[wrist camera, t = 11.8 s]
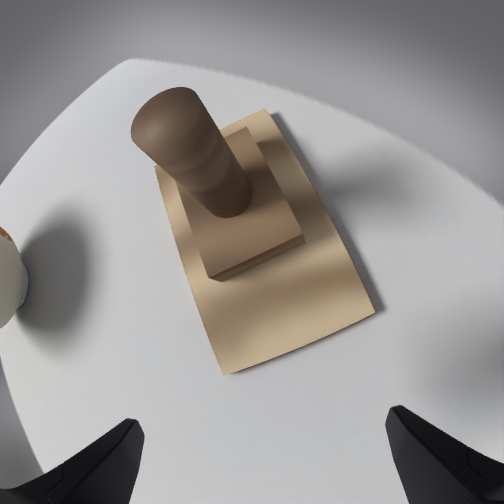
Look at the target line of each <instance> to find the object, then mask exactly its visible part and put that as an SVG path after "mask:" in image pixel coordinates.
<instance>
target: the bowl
mask: <svg viewBox="0 0 504 504" xmlns="http://www.w3.org/2000/svg"><path fill="white" fill-rule="evenodd" d="M27 291H28V273H27V270H26V267H25V266H24V264H23V263H22V261H21V257H20V254H19V252H18V249H17V247H16V245H15V243H14V241H13V240H12V238H11V237H10V235H9V234H8V233H7V232H6V231H5V230H4V229H2V228H1V227H0V328H2V327H3V326H5V325H6V324H7V323H8V322H9V320H10V319H11V318H12V316H13V315H14V313H15V312H16V310H17V308H19V307H20V306H21V305H22V304H23V303H24V301H25V299H26V296H27Z"/></svg>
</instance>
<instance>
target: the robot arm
mask: <svg viewBox="0 0 504 504" xmlns="http://www.w3.org/2000/svg"><path fill="white" fill-rule="evenodd" d="M385 426H386V431H387V435H388V439H389V443H390V447H391V452H392V456H393V460H394V463H395V466H396V468H397V471H398V474H399V476H400V479H401V482H402V485H403V488H404V490H405V493H406V496H407V499H408V502H409V504H504V464H503V463H501V462H498V461H496V460H494V459H491V458H489V457H487V456H485V455H483V454H481V453H479V452H477V451H475V450H474V449H472V448H470V447H467V445H465V444H463V443H462V442H460V441H458V440H457V439H455V438H453V437H452V436H450V435H448V434H447V433H445V432H443V431H442V430H440V429H438V428H437V427H435V426H434V425H432V424H430V423H429V422H427V421H426V420H424V419H422V418H421V417H419V416H418V415H416V414H415V413H413V412H411V411H410V410H408V409H407V408H405V407H404V406H402V405H398V406H394V407H391V408H390V410H389V413H388V416H387V419H386V423H385ZM143 444H144V432H143V430H142V428H141V426H140V424H139V422H138V421H137V420H136V419H130V418H127V419H125V420H124V421H122V422H121V423H119V424H118V425H117V426H115V427H114V428H113V429H111V430H110V431H108V432H107V433H106V434H104V435H103V436H101V437H100V438H99V439H97V440H96V441H94V442H93V443H91V444H90V445H89V446H87V447H86V448H84V449H83V450H81V451H80V452H78V453H77V454H75V455H74V456H72V457H71V458H69V459H68V460H66V461H65V462H64V463H62V464H60V465H59V466H57V467H56V468H54V469H52V470H51V471H49V472H47V473H45V474H44V475H42V476H40V477H38V478H36V479H34V480H31V481H29V482H27V483H25V484H23V485H20V486H18V487H16V488H11V489H0V504H129V502H130V498H131V495H132V492H133V488H134V485H135V482H136V478H137V475H138V471H139V467H140V461H141V455H142V450H143Z"/></svg>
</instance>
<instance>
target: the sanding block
mask: <svg viewBox="0 0 504 504" xmlns="http://www.w3.org/2000/svg"><path fill="white" fill-rule="evenodd" d="M131 137H132V140H133V142H134V143H135V144H136V145H137V146H138V147H139V148H140V149H141V150H142V151H143V152H145V153H146V154H147V155H148V156H149V157H150V158H151V159H152V160H153V161H155V162H156V163H157V164H158V165H159V166H160V167H161V168H162V169H163V170H164V171H166V172H167V173H168V174H169V175H170V176H171V177H172V178H173V179H174V180H175V182H176V185H177V188H178V191H179V194H180V197H181V201H182V204H183V207H184V210H185V213H186V216H187V219H188V222H189V225H190V228H191V231H192V233H193V236H194V239H195V242H196V245H197V248H198V251H199V254H200V256H201V259H202V262H203V265H204V268H205V270H206V273H207V276H208V278H210V279H213V280H216V281H219V282H223V281H225V280H227V279H229V278H231V277H233V276H236V275H238V274H240V273H242V272H244V271H246V270H249V269H251V268H253V267H255V266H257V265H259V264H261V263H264V262H266V261H268V260H270V259H272V258H274V257H276V256H279V255H281V254H283V253H285V252H287V251H289V250H291V249H293V248H296V247H298V246H300V245H302V244H304V243H306V242H305V239H304V235H303V232H302V230H301V228H300V226H299V224H298V222H297V220H296V218H295V216H294V214H293V212H292V210H291V208H290V206H289V204H288V202H287V200H286V198H285V196H284V194H283V193H282V191H281V189H280V187H279V185H278V183H277V181H276V179H275V177H274V175H273V173H272V172H271V170H270V168H269V166H268V164H267V162H266V160H265V159H264V157H263V155H262V153H261V151H260V149H259V148H258V146H257V144H256V142H255V140H254V138H253V137H252V135H251V133H250V131H249V130H248V128H247V126H246V127H244V128H242V129H240V130H238V131H236V132H234V133H232V134H230V135H228V136H226V137H223V136H222V134H221V132H220V131H219V129H218V127H217V126H216V124H215V122H214V121H213V119H212V118H211V116H210V114H209V113H208V111H207V110H206V108H205V106H204V105H203V103H202V101H201V100H200V98H199V97H198V95H197V94H196V92H195V91H193V90H192V89H189V88H186V87H176V88H171V89H168V90H165V91H163V92H161V93H159V94H157V95H155V96H154V97H152V98H151V99H150V100H149V101H148V102H146V103H145V104H144V105H143V107H142V108H141V109H140V110H139V112H138V113H137V115H136V116H135V118H134V120H133V123H132V127H131Z"/></svg>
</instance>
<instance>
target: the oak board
mask: <svg viewBox="0 0 504 504" xmlns="http://www.w3.org/2000/svg"><path fill="white" fill-rule="evenodd" d="M246 126H247V128H248V130H249V131H250V133H251V135H252V137H253V138H254V140H255V142H256V144H257V146H258V148H259V149H260V151H261V153H262V155H263V157H264V159H265V160H266V162H267V164H268V166H269V168H270V170H271V172H272V173H273V175H274V177H275V179H276V181H277V183H278V185H279V187H280V189H281V191H282V193H283V194H284V196H285V198H286V200H287V202H288V204H289V206H290V208H291V210H292V212H293V214H294V216H295V218H296V220H297V222H298V224H299V226H300V228H301V230H302V232H303V235H304V239H305V242H306V243H304V244H302V245H300V246H298V247H296V248H293V249H291V250H289V251H287V252H285V253H283V254H281V255H279V256H276V257H274V258H272V259H270V260H268V261H266V262H264V263H261V264H259V265H257V266H255V267H253V268H251V269H249V270H246V271H244V272H242V273H240V274H238V275H236V276H233V277H231V278H229V279H227V280H225V281H223V282H219V281H216V280H213V279H210V278H208V276H207V273H206V270H205V268H204V265H203V262H202V259H201V256H200V254H199V251H198V248H197V245H196V242H195V239H194V236H193V233H192V231H191V228H190V225H189V222H188V219H187V216H186V213H185V210H184V207H183V204H182V201H181V197H180V194H179V191H178V188H177V185H176V182H175V180H174V179H173V178H172V177H171V176H170V175H169V174H168V173H167V172H166V171H164V170H163V169H162V168H161V167H160V166H159V165H158V164H157V165H156V166H154V167H155V171H156V175H157V179H158V183H159V186H160V190H161V194H162V197H163V201H164V204H165V208H166V211H167V215H168V218H169V222H170V225H171V228H172V232H173V235H174V238H175V242H176V245H177V248H178V251H179V254H180V258H181V261H182V264H183V267H184V270H185V273H186V276H187V279H188V282H189V285H190V288H191V291H192V294H193V297H194V299H195V302H196V305H197V308H198V311H199V314H200V316H201V319H202V322H203V325H204V327H205V330H206V333H207V335H208V338H209V341H210V343H211V346H212V348H213V351H214V353H215V356H216V359H217V361H218V364H219V366H220V369H221V371H222V374H223V376H224V375H227V374H230V373H233V372H236V371H239V370H242V369H245V368H248V367H250V366H253V365H256V364H259V363H261V362H264V361H267V360H269V359H272V358H275V357H277V356H280V355H282V354H285V353H287V352H290V351H292V350H295V349H297V348H299V347H302V346H304V345H307V344H309V343H311V342H314V341H316V340H318V339H321V338H323V337H325V336H327V335H330V334H332V333H334V332H336V331H338V330H340V329H343V328H345V327H347V326H349V325H351V324H353V323H355V322H357V321H359V320H361V319H363V318H365V317H367V316H369V315H371V314H373V313H375V311H374V308H373V306H372V304H371V301H370V299H369V297H368V295H367V292H366V290H365V288H364V286H363V284H362V282H361V279H360V277H359V275H358V273H357V271H356V269H355V267H354V264H353V262H352V260H351V258H350V256H349V254H348V252H347V250H346V248H345V246H344V244H343V242H342V240H341V238H340V236H339V234H338V232H337V230H336V228H335V226H334V224H333V223H332V221H331V219H330V217H329V215H328V213H327V211H326V209H325V207H324V206H323V204H322V202H321V200H320V198H319V196H318V195H317V193H316V191H315V189H314V187H313V186H312V184H311V182H310V180H309V179H308V177H307V175H306V173H305V172H304V170H303V168H302V166H301V165H300V163H299V161H298V160H297V158H296V156H295V155H294V153H293V151H292V150H291V148H290V146H289V145H288V143H287V141H286V140H285V138H284V137H283V135H282V133H281V132H280V130H279V129H278V127H277V125H276V124H275V122H274V121H273V119H272V118H271V116H270V115H269V113H268V112H267V110H266V108H265V109H263V110H261V111H258V112H256V113H254V114H252V115H250V116H247V117H245V118H243V119H241V120H239V121H237V122H235V123H233V124H231V125H229V126H227V127H225V128H223V129H221V130H219V131H220V132H221V134H222V136H223V137H226V136H228V135H230V134H232V133H234V132H236V131H238V130H240V129H242V128H244V127H246Z"/></svg>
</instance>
